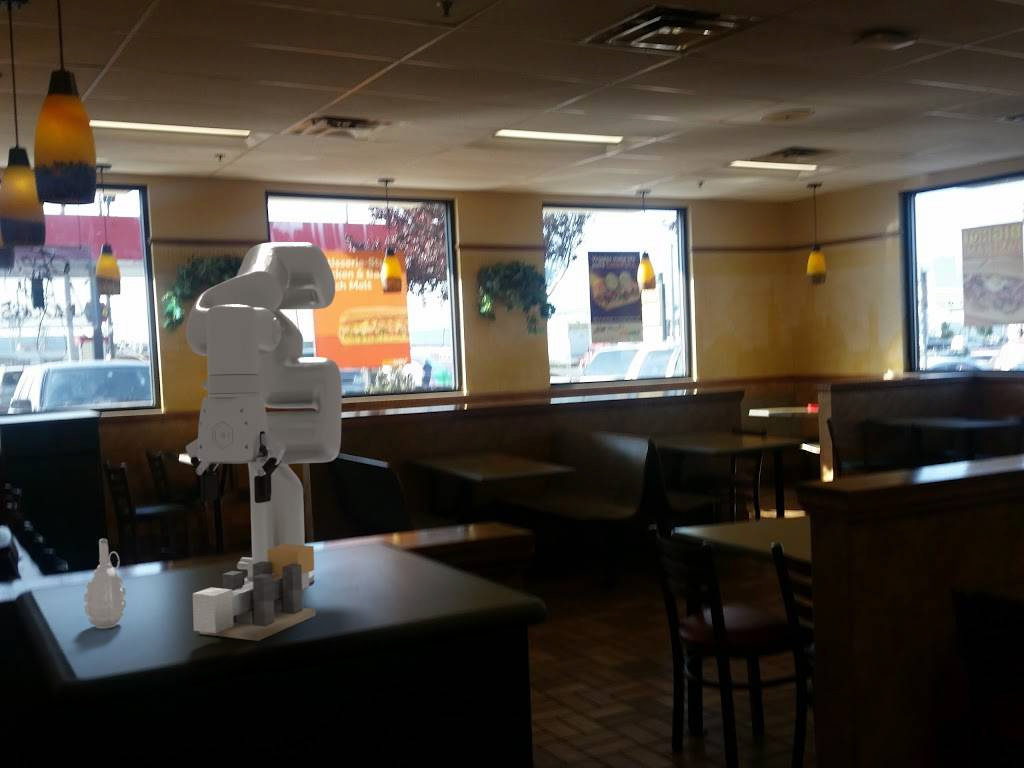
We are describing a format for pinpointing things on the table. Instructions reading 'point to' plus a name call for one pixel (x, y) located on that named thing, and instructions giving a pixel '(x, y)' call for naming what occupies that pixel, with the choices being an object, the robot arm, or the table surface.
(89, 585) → the hand grenade
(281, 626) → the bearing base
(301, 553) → the block
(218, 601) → the block ended bar
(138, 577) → the table surface
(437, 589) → the table surface
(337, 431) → the robot arm
